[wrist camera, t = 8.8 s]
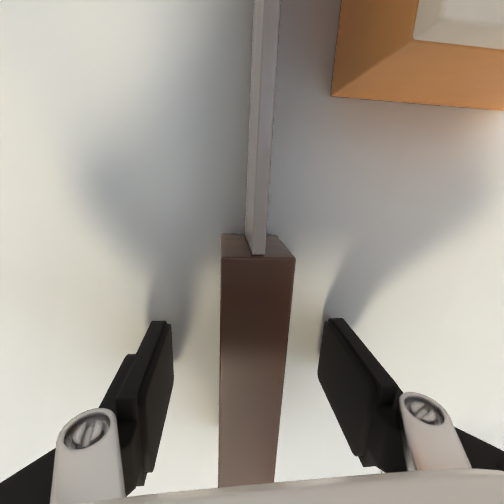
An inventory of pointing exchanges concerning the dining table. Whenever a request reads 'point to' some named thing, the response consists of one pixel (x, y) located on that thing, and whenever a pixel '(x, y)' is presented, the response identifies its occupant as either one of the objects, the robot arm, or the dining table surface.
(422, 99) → the cake
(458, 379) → the dining table surface
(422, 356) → the dining table surface
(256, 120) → the knife
